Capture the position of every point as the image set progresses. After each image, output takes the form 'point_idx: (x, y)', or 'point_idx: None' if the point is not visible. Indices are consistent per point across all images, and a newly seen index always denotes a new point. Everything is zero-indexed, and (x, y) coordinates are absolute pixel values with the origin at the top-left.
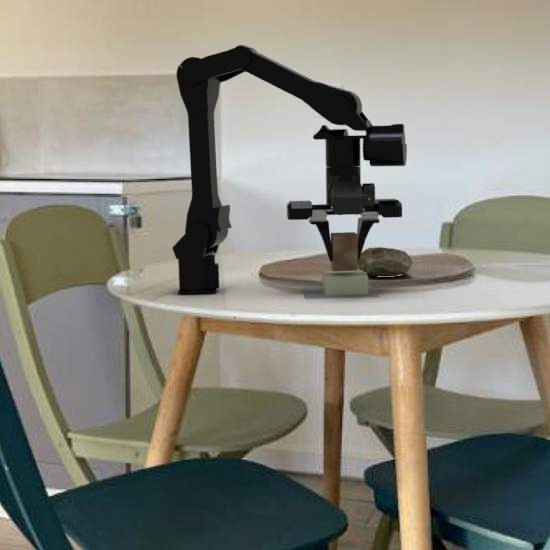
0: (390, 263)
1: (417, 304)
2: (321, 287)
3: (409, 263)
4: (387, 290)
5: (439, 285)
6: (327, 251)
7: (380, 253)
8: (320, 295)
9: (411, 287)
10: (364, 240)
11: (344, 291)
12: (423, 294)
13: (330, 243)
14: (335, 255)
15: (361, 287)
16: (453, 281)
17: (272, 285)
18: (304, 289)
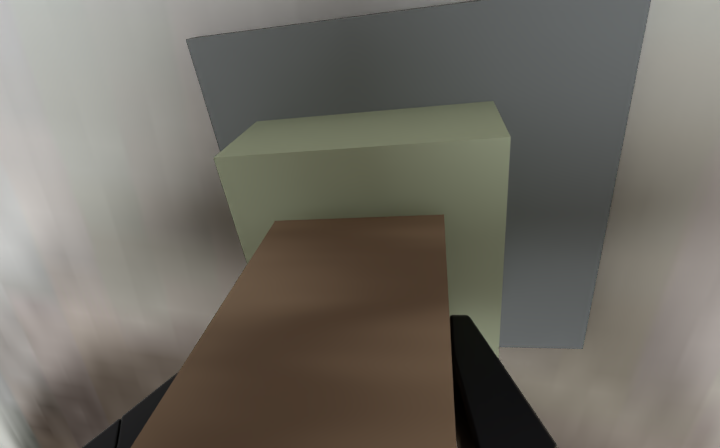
0: None
1: None
2: None
3: None
4: (204, 274)
5: (51, 339)
6: (502, 367)
7: None
8: (526, 100)
9: (131, 320)
10: (111, 426)
11: (380, 117)
12: (33, 163)
13: (479, 431)
14: (426, 289)
15: (279, 132)
16: (37, 392)
17: (681, 442)
18: (579, 296)
